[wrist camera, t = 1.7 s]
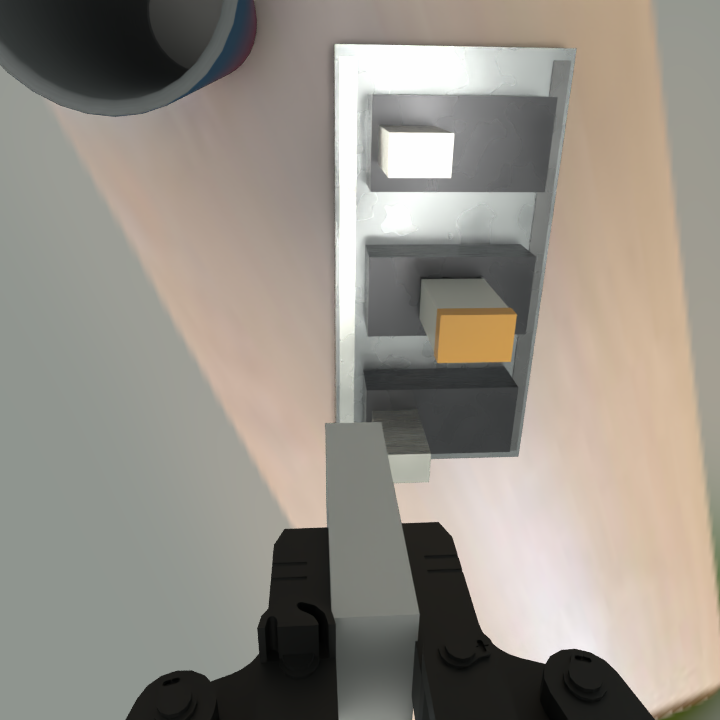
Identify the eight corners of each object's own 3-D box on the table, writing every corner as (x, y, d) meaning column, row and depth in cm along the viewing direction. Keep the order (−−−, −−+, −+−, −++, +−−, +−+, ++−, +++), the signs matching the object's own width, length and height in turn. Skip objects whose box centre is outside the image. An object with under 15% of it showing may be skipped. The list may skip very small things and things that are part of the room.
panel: (334, 45, 28) (340, 33, 21) (564, 50, 29) (650, 39, 22) (335, 447, 38) (340, 538, 30) (511, 443, 38) (558, 530, 31)
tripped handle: (420, 278, 29) (440, 315, 24) (484, 277, 29) (517, 314, 25) (418, 319, 30) (437, 363, 25) (480, 318, 30) (510, 361, 25)
